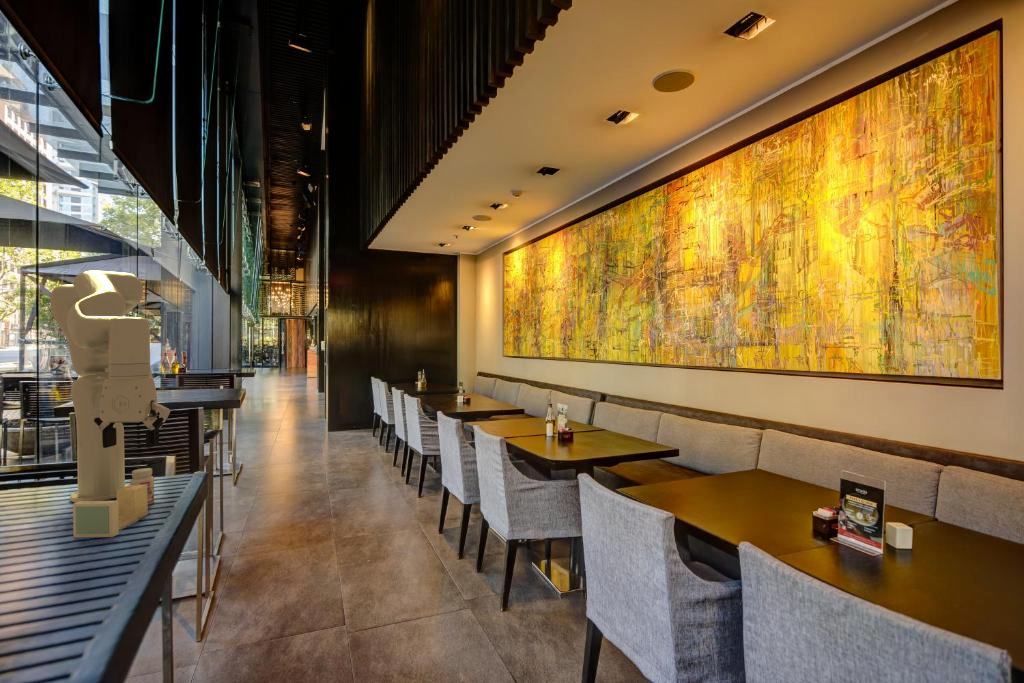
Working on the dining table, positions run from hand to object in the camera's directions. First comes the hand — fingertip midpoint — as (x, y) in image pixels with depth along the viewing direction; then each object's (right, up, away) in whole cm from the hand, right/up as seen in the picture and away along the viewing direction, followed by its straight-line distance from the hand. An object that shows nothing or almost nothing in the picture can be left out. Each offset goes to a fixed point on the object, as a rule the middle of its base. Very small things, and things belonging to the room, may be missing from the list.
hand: (131, 446), depth 114 cm
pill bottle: (-5, -17, +10) cm, 20 cm away
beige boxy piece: (0, -16, -2) cm, 17 cm away
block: (0, -17, -10) cm, 19 cm away
